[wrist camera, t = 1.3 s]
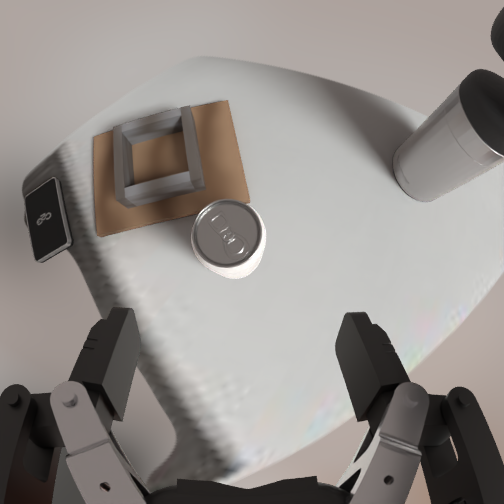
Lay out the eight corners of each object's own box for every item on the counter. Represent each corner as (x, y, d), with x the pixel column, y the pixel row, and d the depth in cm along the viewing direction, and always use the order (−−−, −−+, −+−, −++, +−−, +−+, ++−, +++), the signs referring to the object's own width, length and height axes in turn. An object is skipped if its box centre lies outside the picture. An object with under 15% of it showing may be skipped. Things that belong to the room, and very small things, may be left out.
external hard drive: (62, 179, 37) (55, 175, 35) (76, 246, 36) (69, 243, 34) (31, 200, 37) (23, 197, 35) (43, 265, 36) (35, 264, 34)
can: (227, 289, 35) (216, 289, 23) (197, 245, 36) (171, 223, 24) (272, 258, 36) (283, 242, 24) (241, 214, 36) (237, 178, 24)
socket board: (228, 104, 38) (225, 83, 33) (250, 202, 36) (250, 189, 31) (97, 140, 38) (82, 124, 33) (101, 237, 36) (82, 229, 31)
